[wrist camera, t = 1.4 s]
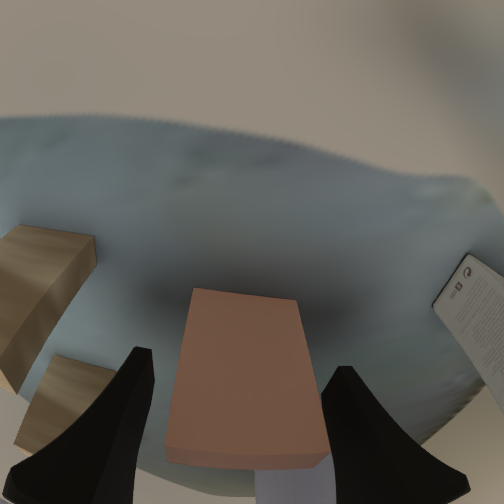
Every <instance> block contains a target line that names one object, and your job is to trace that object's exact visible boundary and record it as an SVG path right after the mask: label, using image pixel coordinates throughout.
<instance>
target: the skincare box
mask: <svg viewBox="0 0 504 504" xmlns="http://www.w3.org/2000/svg"><path fill="white" fill-rule="evenodd" d="M433 308H434V311H435V313H436V314H437V316H438V317H439V318H440V320H441V321H442V322H443V323H444V325H445V326H446V328H447V329H448V330H449V331H450V333H451V334H452V335H453V337H454V338H455V339H456V341H457V342H458V344H459V345H460V346H461V348H462V349H463V351H464V352H465V353H466V355H467V356H468V358H469V359H470V360H471V362H472V364H473V365H474V367H475V368H476V370H477V371H478V373H479V374H480V376H481V377H482V379H483V380H484V382H485V384H486V385H487V387H488V388H489V390H490V392H491V393H492V395H493V397H494V398H495V400H496V401H497V403H498V405H499V406H500V408H501V410H502V412H503V413H504V278H503V277H502V276H500V275H499V274H498V273H496V272H495V271H493V270H492V269H491V268H489V267H488V266H486V265H485V264H483V263H482V262H481V261H479V260H478V259H476V258H475V257H473V256H471V255H467V256H466V258H465V259H464V260H463V262H462V263H461V264H460V266H459V267H458V269H457V270H456V272H455V273H454V275H453V276H452V278H451V279H450V281H449V282H448V284H447V285H446V287H445V288H444V289H443V291H442V292H441V294H440V295H439V297H438V298H437V300H436V301H435V303H434V304H433Z"/></svg>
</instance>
